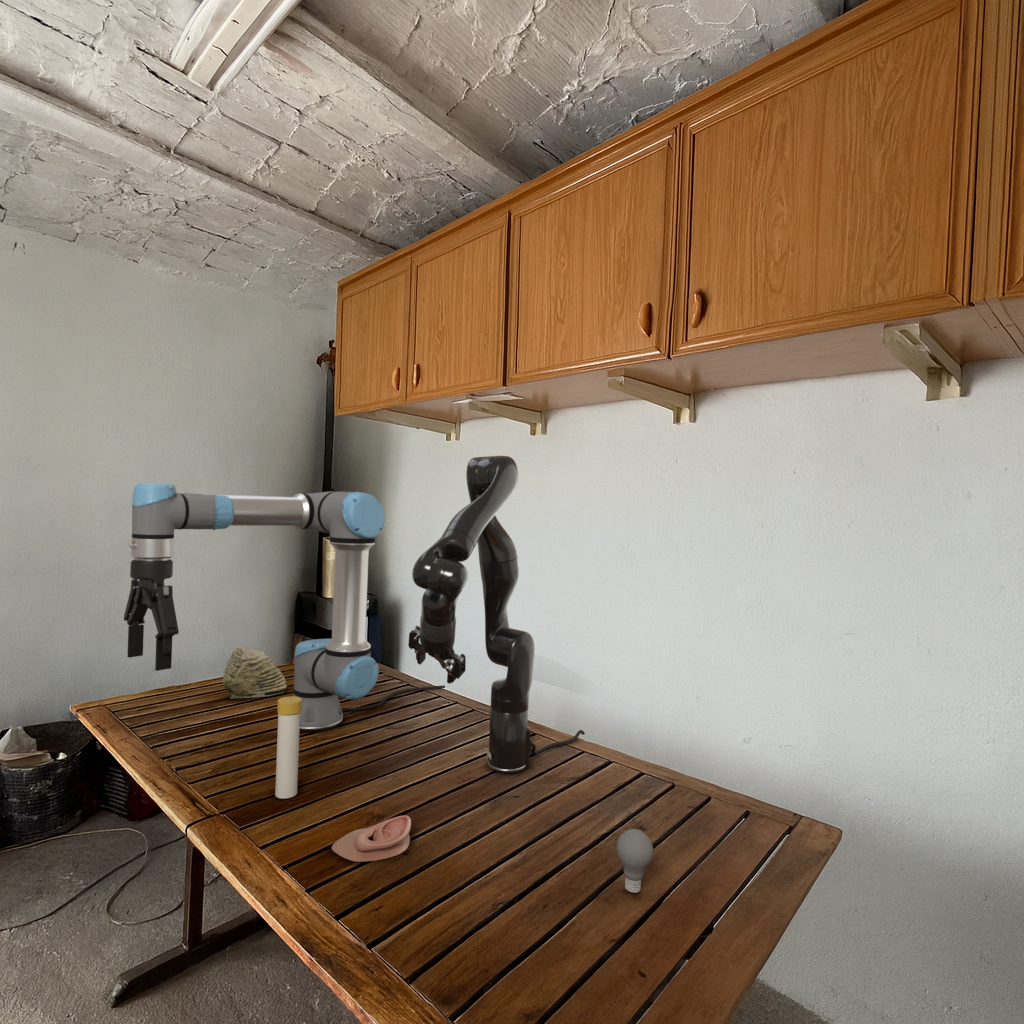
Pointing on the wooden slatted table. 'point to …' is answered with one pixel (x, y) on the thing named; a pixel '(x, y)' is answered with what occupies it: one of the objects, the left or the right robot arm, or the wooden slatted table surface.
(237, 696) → the fossil
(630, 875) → the light bulb
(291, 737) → the white bottle
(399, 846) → the anatomical model
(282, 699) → the lid
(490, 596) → the right robot arm
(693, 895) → the wooden slatted table surface
